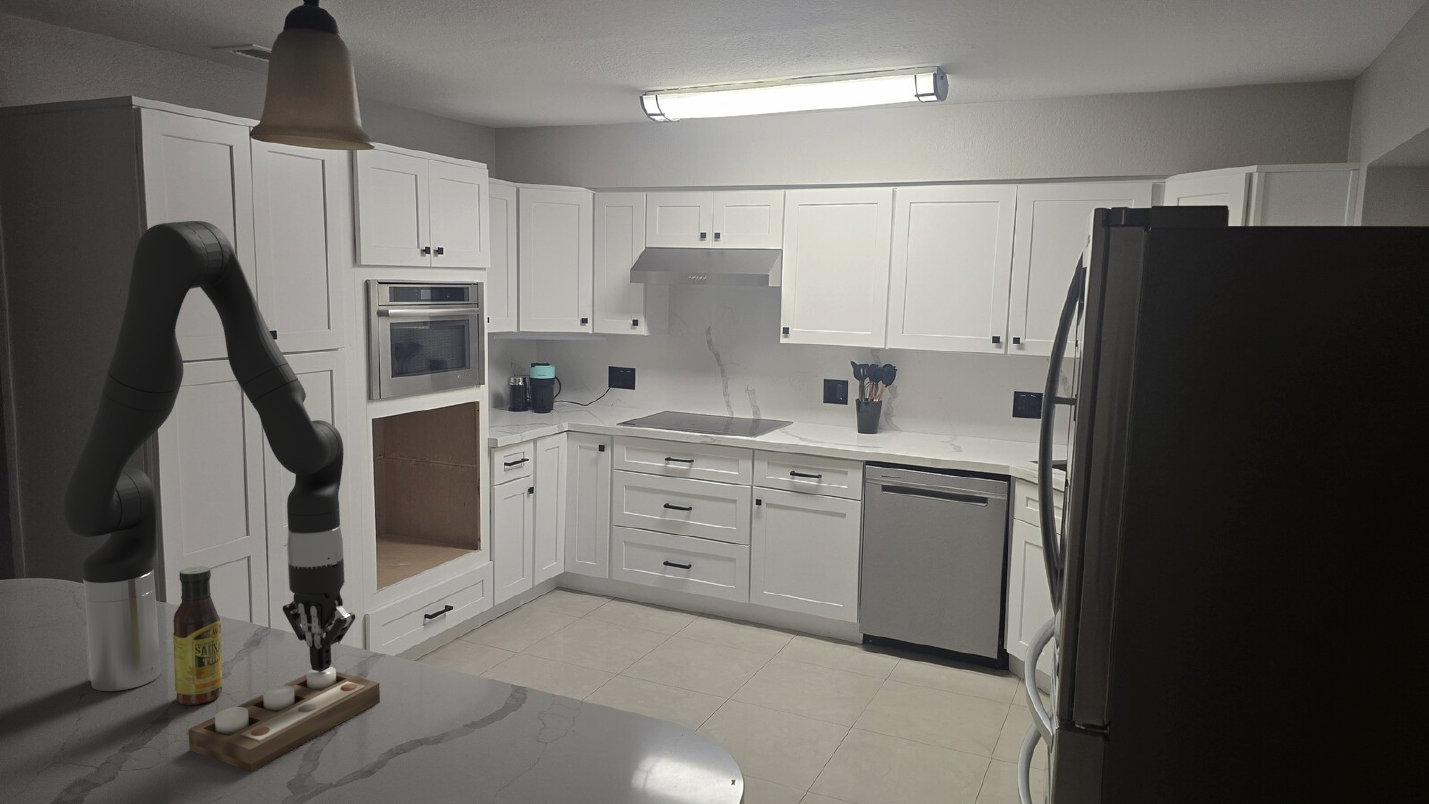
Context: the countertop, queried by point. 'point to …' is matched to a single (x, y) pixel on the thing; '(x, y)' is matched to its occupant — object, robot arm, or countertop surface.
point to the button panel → (285, 722)
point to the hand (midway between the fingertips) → (321, 669)
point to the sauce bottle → (197, 640)
